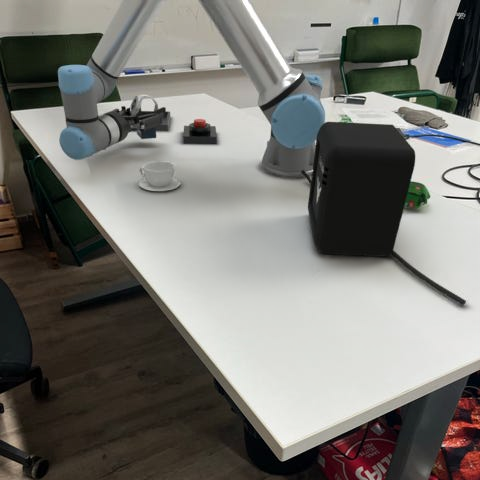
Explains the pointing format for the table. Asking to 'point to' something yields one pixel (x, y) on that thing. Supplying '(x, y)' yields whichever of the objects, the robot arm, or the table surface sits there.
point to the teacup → (158, 176)
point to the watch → (134, 110)
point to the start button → (199, 122)
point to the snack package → (416, 195)
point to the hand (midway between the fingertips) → (152, 110)
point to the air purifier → (359, 188)
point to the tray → (165, 121)
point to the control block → (199, 134)
